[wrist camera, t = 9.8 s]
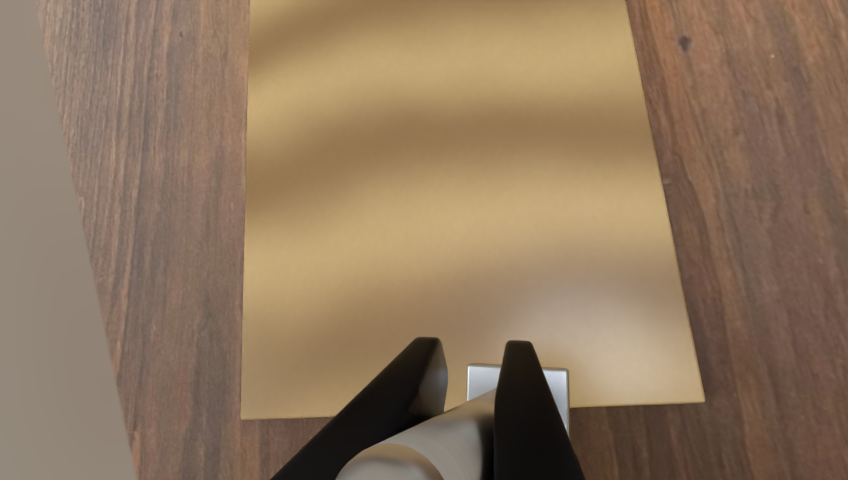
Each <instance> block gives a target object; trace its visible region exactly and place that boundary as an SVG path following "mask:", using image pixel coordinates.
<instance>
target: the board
mask: <svg viewBox="0 0 848 480" xmlns="http://www.w3.org/2000/svg"><path fill="white" fill-rule="evenodd" d="M420 336H423V337H437V338H439V339H440V340H441V342H442V346H443V350H444V355H445V359H446V364H447V368H448V386H447V393H446V400H445V407H444V412H446V411H448V410H450V409H452V408H454V407H456V406H459V405H461V404H463V403H465V402H466V395H467V366H468V364H472V363H485V364H502V360H503V355H504V350H505V345H506V343H507V341H509V340H523V341H530V342H531V343H532V344H533V347H534V349H535V352H536V354H537V357H538V359H539V362H540V364H541V367H557V368H567V369H568V370H569V387H570V408H580V407H606V406H633V405H659V404H686V403H704V402H705V395H704V390H703V385H702V380H701V375H700V370H699V365H698V360H697V355H696V350H695V345H694V340H693V335H692V330H691V325H690V320H689V315H688V310H687V305H686V300H685V295H684V290H683V285H682V280H681V275H680V270H679V265H678V260H677V255H676V250H675V245H674V240H673V235H672V230H671V225H670V220H669V215H668V210H667V205H666V200H665V195H664V190H663V185H662V180H661V175H660V170H659V165H658V160H657V155H656V150H655V145H654V140H653V135H652V130H651V125H650V120H649V115H648V109H647V104H646V99H645V94H644V89H643V84H642V79H641V74H640V69H639V64H638V59H637V54H636V49H635V44H634V39H633V34H632V29H631V24H630V19H629V14H628V9H627V4H626V0H250V20H249V64H248V108H247V153H246V197H245V241H244V286H243V330H242V375H241V420H263V419H289V418H316V417H335V416H336V415H337V414H338V413H339V412H340V411H341V410H342V409H343V408H344V407H345V406H346V405H347V404H348V403H349V402H350V401H351V400H352V399H353V398H354V397H355V396H356V395H357V394H358V393H359V392H360V391H361V390H363V389H364V388H365V387H366V386H367V385H368V384H369V383H370V382H371V381H372V380H373V379H374V378H375V377H376V376H377V375H378V374H379V373H380V372H381V371H382V370H383V369H384V368H385V367H386V366H387V365H388V364H389V363H390V362H391V361H392V360H393V359H394V358H395V357H396V356H397V355H398V354H399V353H400V352H401V351H403V350H404V349H405V348H406V347H407V346H408V345H409V344H410V343H411V342H412V341H413V340H414V339H415V338H417V337H420Z"/></svg>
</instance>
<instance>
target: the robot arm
mask: <svg viewBox="0 0 848 480" xmlns="http://www.w3.org/2000/svg"><path fill="white" fill-rule="evenodd" d="M447 386H448V368H447V364H446V359H445V355H444V350H443V346H442V342H441V340H440V339H439V338H437V337H423V336H420V337H417V338H415V339H414V340H413V341H412V342H411V343H410V344H409V345H408V346H407V347H406V348H405V349H404V350H403V351H401V352H400V353H399V354H398V355H397V356H396V357H395V358H394V359H393V360H392V361H391V362H390V363H389V364H388V365H387V366H386V367H385V368H384V369H383V370H382V371H381V372H380V373H379V374H378V375H377V376H376V377H375V378H374V379H373V380H372V381H371V382H370V383H369V384H368V385H367V386H366V387H365V388H364V389H363V390H361V391H360V392H359V393H358V394H357V395H356V396H355V397H354V398H353V399H352V400H351V401H350V402H349V403H348V404H347V405H346V406H345V407H344V408H343V409H342V410H341V411H340V412H339V413H338V414H337V415H336V416H335V417H334V418H333V419H332V420H331V421H330V422H329V423H328V424H327V425H326V426H325V427H324V428H323V429H322V430H320V431H319V432H318V433H317V434H316V435H315V436H314V437H313V438H312V439H311V440H310V441H309V442H308V443H307V444H306V445H305V446H304V447H303V448H302V449H301V450H300V451H299V452H298V453H297V454H296V455H295V456H294V457H293V458H292V459H291V460H290V461H289V462H288V463H287V464H286V465H285V466H284V467H283V468H282V469H280V470H279V471H278V472H277V473H276V474H275V475H274V476H273V477H272V478H271V479H270V480H336V478H337V476H338V474H339V472H340V471H341V470H342V469H343V467H344V466H345V465H346V464H347V463H348V462H349V461H350V460H351V459H353V458H354V457H355V456H356V455H357V454H359V453H360V452H361V451H363V450H365V449H367V448H369V447H371V446H373V445H376V444H378V443H380V442H382V441H384V440H386V439H388V438H390V437H393V436H395V435H397V434H399V433H401V432H403V431H405V430H407V429H410V428H412V427H414V426H416V425H418V424H420V423H422V422H424V421H427V420H429V419H431V418H433V417H435V416H437V415H439V414H442V413H444V407H445V400H446V393H447ZM494 480H586V479H585V477H584V474H583V472H582V469H581V467H580V464H579V462H578V459H577V456H576V454H575V451H574V449H573V446H572V444H571V441H570V439H569V436H568V433H567V431H566V428H565V426H564V423H563V421H562V418H561V416H560V413H559V410H558V408H557V405H556V403H555V400H554V398H553V395H552V393H551V390H550V387H549V385H548V382H547V380H546V377H545V375H544V372H543V370H542V367H541V364H540V362H539V359H538V357H537V354H536V352H535V349H534V347H533V344H532V343H531V342H530V341H523V340H509V341H507V343H506V345H505V350H504V355H503V360H502V365H501V369H500V374H499V379H498V384H497V389H496V395H495V404H494Z"/></svg>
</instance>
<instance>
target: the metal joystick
mask: <svg viewBox="0 0 848 480" xmlns="http://www.w3.org/2000/svg"><path fill="white" fill-rule="evenodd" d="M501 365H502V364H485V363H472V364H468V366H467V395H466V402H465V403H463V404H461V405H459V406H456V407H454V408H452V409H450V410H448V411H446V412H444V413H442V414H439V415H437V416H435V417H433V418H431V419H429V420H427V421H424V422H422V423H420V424H418V425H416V426H414V427H412V428H410V429H407V430H405V431H403V432H401V433H399V434H397V435H395V436H393V437H390V438H388V439H386V440H384V441H382V442H380V443H378V444H376V445H373V446H371V447H369V448H367V449H365V450H363V451H361V452H360V453H359V454H357V455H356V456H355V457H354V458H353V459H351V460H350V461H349V462H348V463H347V464H346V465H345V466H344V467H343V469H342V470H341V471H340V472H339V474H338V476H337V478H336V480H494V404H495V395H496V389H497V384H498V379H499V374H500V369H501ZM542 370H543V372H544V375H545V377H546V380H547V382H548V385H549V387H550V390H551V393H552V395H553V398H554V400H555V403H556V405H557V408H558V410H559V413H560V416H561V418H562V421H563V423H564V426H565V428H566V431H567V433H568V436H569V439H571V437H570V387H569V370H568V369H567V368H557V367H542Z"/></svg>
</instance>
